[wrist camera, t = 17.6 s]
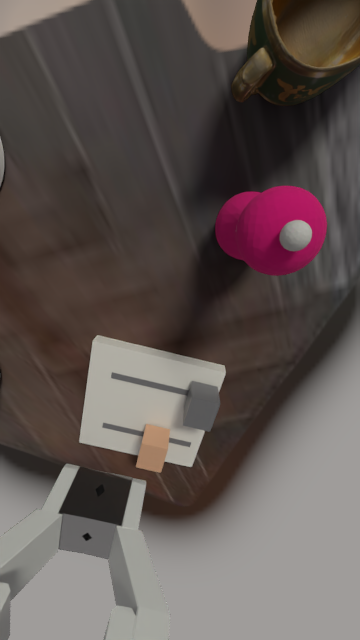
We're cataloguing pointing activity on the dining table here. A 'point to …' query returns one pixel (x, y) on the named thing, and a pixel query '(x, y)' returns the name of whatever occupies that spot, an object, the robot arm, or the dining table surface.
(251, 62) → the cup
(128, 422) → the fader panel
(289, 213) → the pepper mill
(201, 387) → the block
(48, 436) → the dining table surface
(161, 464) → the block
